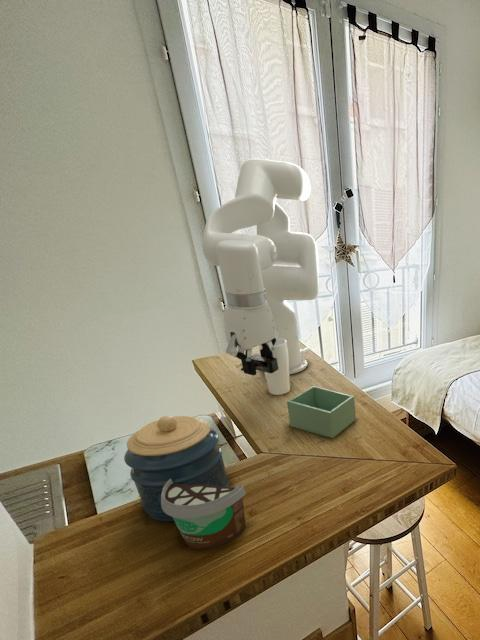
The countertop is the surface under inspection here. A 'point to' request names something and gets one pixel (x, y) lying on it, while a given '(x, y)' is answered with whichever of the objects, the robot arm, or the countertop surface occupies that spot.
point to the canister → (173, 459)
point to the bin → (321, 411)
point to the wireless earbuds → (265, 363)
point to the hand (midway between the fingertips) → (259, 368)
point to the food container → (205, 512)
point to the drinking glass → (279, 378)
